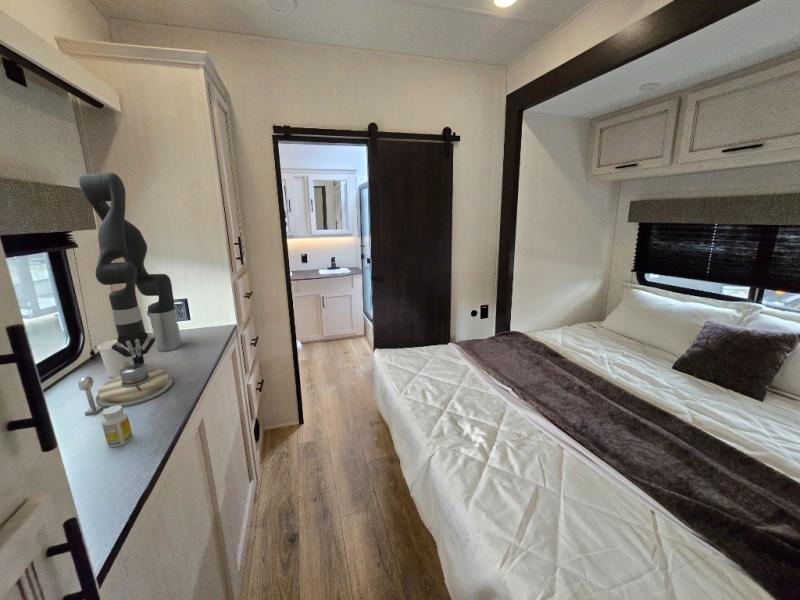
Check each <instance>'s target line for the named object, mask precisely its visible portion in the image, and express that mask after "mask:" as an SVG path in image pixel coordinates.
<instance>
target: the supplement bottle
mask: <svg viewBox="0 0 800 600" xmlns="http://www.w3.org/2000/svg"><path fill="white" fill-rule="evenodd" d="M123 408H124V407H122V406H119V405H117V406H112V407H109V408H104V409H103V410H102V416H103V419H102V420H101V426H102V427H101V428H102V430H103V434H104V436H105V440H106V441H105V442H106V445H107V446H108V447H110V448H111V447H112V448H116V447H119V446H123V445H125V444H127V443H129V442H130V441H131V440H132V438H133V431H132V427H131V425H130V421H129V420H130V419H129V416H128V414H127V412H126V411H125V412H124V409H123Z"/></svg>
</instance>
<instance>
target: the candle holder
mask: <svg viewBox="0 0 800 600" xmlns="http://www.w3.org/2000/svg"><path fill="white" fill-rule="evenodd" d="M117 339H118V338H116V339H111V340H108V341H105V342H103V343H101V344H98V346H97V349H98V351H99V354H100V357H101V359H102V362H103V366H104V368H105V371H106V374H107V375H108V378H113V379H114V378H116V377H119V376H120V373H119V371H120V370H121V369H122V368H124V367H125V366H124V362H125V361H128V362H129V363H130V365H133V364H134V362H133V358H132V357H125V356H123V355H122V354H120V353H118V352H117V351H115V350H113V349H112V348H111V347H112V345H113V344H115V343H116V342H117ZM121 347H123V348H124V349H126V350H127V351H129V349H128V348H126V347H125V346H123V345H122V344H121Z"/></svg>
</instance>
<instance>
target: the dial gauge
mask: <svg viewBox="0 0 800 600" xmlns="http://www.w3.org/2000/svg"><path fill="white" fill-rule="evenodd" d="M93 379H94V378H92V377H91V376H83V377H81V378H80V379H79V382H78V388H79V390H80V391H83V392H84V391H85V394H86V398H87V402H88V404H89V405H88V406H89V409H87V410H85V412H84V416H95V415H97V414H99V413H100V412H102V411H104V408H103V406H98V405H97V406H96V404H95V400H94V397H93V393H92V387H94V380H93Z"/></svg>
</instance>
